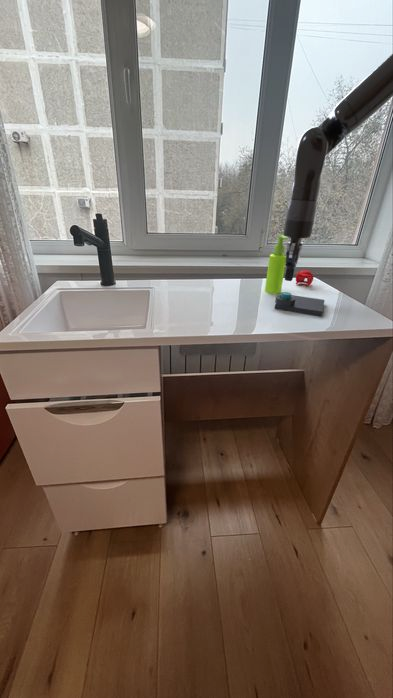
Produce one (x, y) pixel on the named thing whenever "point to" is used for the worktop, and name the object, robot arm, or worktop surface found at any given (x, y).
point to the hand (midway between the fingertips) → (288, 280)
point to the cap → (302, 275)
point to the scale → (300, 305)
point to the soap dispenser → (276, 268)
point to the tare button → (286, 295)
